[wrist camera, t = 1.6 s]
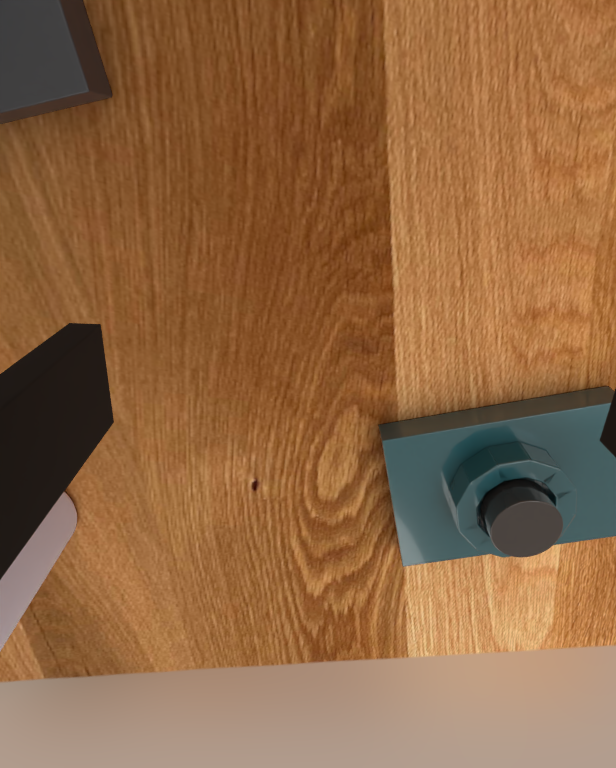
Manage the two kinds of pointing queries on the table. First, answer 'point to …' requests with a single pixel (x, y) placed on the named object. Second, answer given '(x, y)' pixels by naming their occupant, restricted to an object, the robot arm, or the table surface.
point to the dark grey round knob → (521, 518)
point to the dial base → (47, 58)
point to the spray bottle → (34, 564)
